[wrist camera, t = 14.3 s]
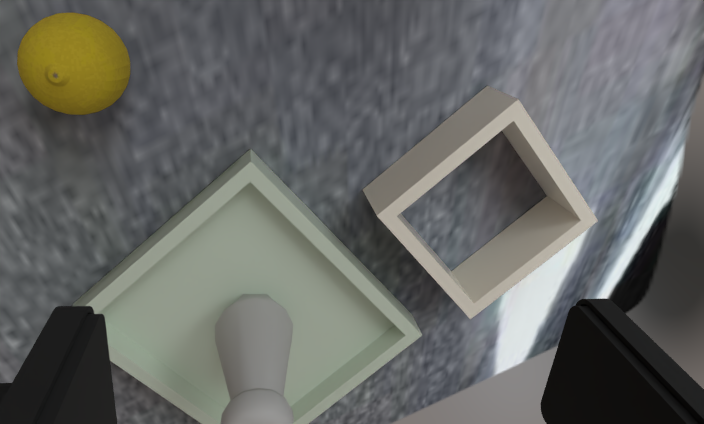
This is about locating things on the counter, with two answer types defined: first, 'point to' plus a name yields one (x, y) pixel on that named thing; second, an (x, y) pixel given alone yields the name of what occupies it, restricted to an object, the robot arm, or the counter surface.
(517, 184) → the counter surface
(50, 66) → the lemon
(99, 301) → the tray
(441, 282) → the square frame
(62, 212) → the counter surface
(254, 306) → the salt shaker
